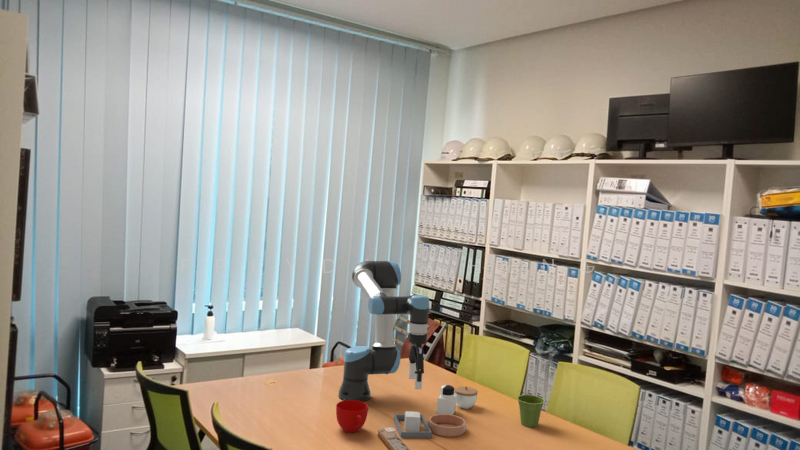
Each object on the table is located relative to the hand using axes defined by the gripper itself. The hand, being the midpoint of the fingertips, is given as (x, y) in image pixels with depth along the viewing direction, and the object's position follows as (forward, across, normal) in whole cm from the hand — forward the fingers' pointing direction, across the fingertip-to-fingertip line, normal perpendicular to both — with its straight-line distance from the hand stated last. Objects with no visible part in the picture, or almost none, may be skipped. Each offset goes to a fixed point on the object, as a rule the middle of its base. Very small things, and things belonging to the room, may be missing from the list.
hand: (415, 383), depth 242 cm
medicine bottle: (+19, +18, -19) cm, 32 cm away
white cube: (+19, 0, 0) cm, 19 cm away
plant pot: (+19, +4, -53) cm, 56 cm away
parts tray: (+19, 0, 0) cm, 19 cm away
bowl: (+19, -2, -14) cm, 24 cm away
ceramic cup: (+19, -3, +25) cm, 32 cm away
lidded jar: (+19, +26, -30) cm, 44 cm away
